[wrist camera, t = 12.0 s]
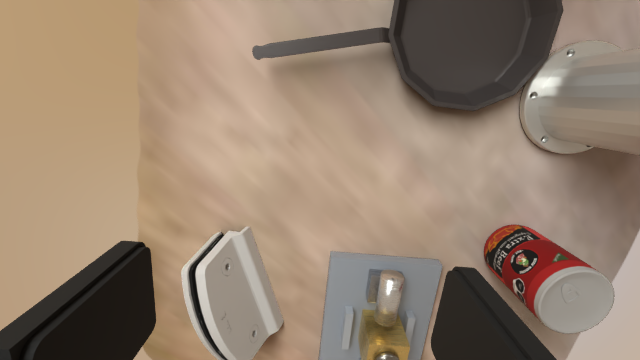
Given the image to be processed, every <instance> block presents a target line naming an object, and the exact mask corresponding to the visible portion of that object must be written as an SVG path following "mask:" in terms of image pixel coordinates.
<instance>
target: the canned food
mask: <svg viewBox="0 0 640 360" xmlns="http://www.w3.org/2000/svg"><path fill="white" fill-rule="evenodd" d="M484 257H485V260H486V263H487V265H488V267H489V268H490V269H491V270H492V271H493V272H494V274H495V275H496V276H497V277H498V278H499V279H500V280H501V281H502V282H503V283H504V284H505V285H506V286H507V287H508V288H509V289H510V290H511V291H512V292H513V293H514V294H515V295H516V296H517V297H518V299H519V300H520V301H521V302H522V303H523V304H524V305H525V306H526V307H527V308H528V309H529V310H530V311H531V312H532V313H533V314H534V315H535V316H536V317H537V318H538V319H539V320H540V321H541V322H542V323H543V324H545V325H546V326H547V327H548V328H550V329H551V330H553V331H556V332H559V333H563V334H573V333H579V332H583V331H586V330H588V329H590V328H592V327H594V326H596V325H597V324H599V323H600V322H601V321H602V320H603V319H604V318H605V317H606V316H607V315H608V313H609V311H610V310H611V308H612V305H613V302H614V289H613V286H612V284H611V282H610V281H609V280H608V279H607V278H606V277H605V276H604V275H602V274H601V273H600V272H599V271H597V270H596V269H594V268H592V267H591V266H590V265H588V264H587V263H585V262H583V261H582V260H580V259H579V258H577V257H576V256H574V255H572V254H571V253H569V252H568V251H566V250H564V249H563V248H561V247H560V246H558V245H557V244H555V243H553V242H552V241H550V240H549V239H547V238H545V237H544V236H542V235H541V234H539V233H538V232H536V231H534V230H533V229H531V228H529V227H525V226H521V225H508V226H504V227H502V228H500V229H498V230H496V231H495V232H494V233H493V234H492V235H491V236H490V237H489V238H488V240H487V241H486V244H485V247H484Z"/></svg>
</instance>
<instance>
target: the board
mask: <svg viewBox="0 0 640 360" xmlns="http://www.w3.org/2000/svg"><path fill="white" fill-rule="evenodd" d="M369 269H379V270H387V269H390V270H395V271H402V273H403V275H404V277H405V283H404V288H403V293H402V298H401V303H400V305H399V308H398V314H399V317H400V320H401V323H402V325H403V328H404V331H405V334H406V337H407V339H408V342H409V345H410V350H409V355H408V359H407V360H421V356H422V351H423V347H424V343H425V339H426V334H427V330H428V326H429V322H430V317H431V313H432V309H433V304H434V300H435V296H436V292H437V287H438V283H439V279H440V275H441V270H442V264H441V263H440V262H439V260H435V259H422V258H409V257H397V256H384V255H371V254H358V253H345V252H333V251H331V252H330V261H329V270H328V279H327V288H326V297H325V306H324V315H323V324H322V333H321V342H320V351H319V360H359V358H361V355H360V348H359V342H358V334H359V328H360V321H361V315H362V309H367V310H375V306H376V303H369V302H367V299H366V287H367V281H368V274H369Z"/></svg>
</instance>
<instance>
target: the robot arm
mask: <svg viewBox="0 0 640 360" xmlns="http://www.w3.org/2000/svg"><path fill="white" fill-rule="evenodd" d="M520 119H521V123H522V127H523V129H524V131H525V133H526V135H527V136H528V137H529V139H530V140H531V141H532V142H533V143H534V144H536V145H537V146H539V147H540V148H542V149H545V150H547V151H551V152H555V153H560V154H574V153H580V152H583V151H587V150H589V149H592V148H594V147H599V148H604V149H609V150H614V151H619V152H624V153H630V154H635V155H640V48H638V49H631V50H624V51H623V50H621V49H620V48H619V47H617V46H615V45H613V44H611V43H609V42H604V41H599V40H597V41H583V42H577V43H574V44H570V45H567V46H565V47H563V48H561V49H559V50H557V51H555V52H553V53H552V54H551V55H549V56H548V59H547V60H546V61H545V62H544V63H543V64H542V65H541V66H540V68H539V69H538V70H537V71H536V72H535V73H534V74H533V75H532V76H531V77H530V79H529V80H528V81H527V83H526V85H525V87H524V90H523V93H522V96H521V102H520ZM155 323H156V313H155V300H154V288H153V276H152V263H151V252H150V249H149V248H148V247H146V246H145V244H144V243H143V242H132V241H121V242H119V243H118V244H117V245H115V246H114V247H112V248H111V249H110V250H108V251H107V252H106V253H104V254H103V255H102V256H100V257H99V258H98V259H96V260H95V261H94V262H92V263H91V264H89V265H88V266H87V267H85V268H84V269H83V270H81V271H80V272H79V273H77V274H76V275H75V276H73V277H72V278H71V279H69V280H68V281H67V282H66V283H64V284H63V285H61V286H60V287H59V288H58V289H56V290H55V291H53V292H52V293H51V294H49V295H48V296H47V297H45V298H44V299H43V300H41V301H40V302H39V303H37V304H36V305H35V306H33V307H32V308H31V309H29V310H28V311H26V312H25V313H24V314H22V315H21V316H20V317H18V318H17V319H16V320H14V321H13V322H12V323H10V324H9V325H8V326H6V327H5V328H4V329H2V330H1V331H0V360H133V359H134V357H135V356H136V355H137V353H138V352H139V350H140V348H141V347H142V346H143V345H144V343H145V342H146V340H147V339H148V337H149V336H150V334H151V333H152V331H153V329H154V327H155ZM431 347H432V351H433V354H434V356H435V358H436V360H557V359H556V358H555V357H554V356H553V355H552V354H551V353H550V352H549V351H548V349H547V348H546V347H545V346H544V345H543V344H542V343H541V342H540V340H539V339H538V338H537V337H536V336H535V335H534V334H533V333H532V331H531V330H530V329H529V328H528V327H527V326H526V325H525V324H524V322H523V321H522V320H521V319H520V318H519V317H518V316H517V315H516V313H515V312H514V311H513V310H512V309H511V308H510V307H509V306H508V304H507V303H506V302H505V301H504V300H503V299H502V298H501V297H500V295H499V294H498V293H497V292H496V291H495V290H494V289H493V288H492V286H491V285H490V284H489V283H488V282H487V281H486V280H485V279H484V277H483V276H482V275H481V274H480V273H479V272H478V271H477V270H476V269H475V268H468V267H454V268H453V269H452V271H448V273H447V275H446V279H445V283H444V287H443V292H442V296H441V300H440V304H439V308H438V312H437V316H436V321H435V325H434V329H433V333H432V337H431Z"/></svg>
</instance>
